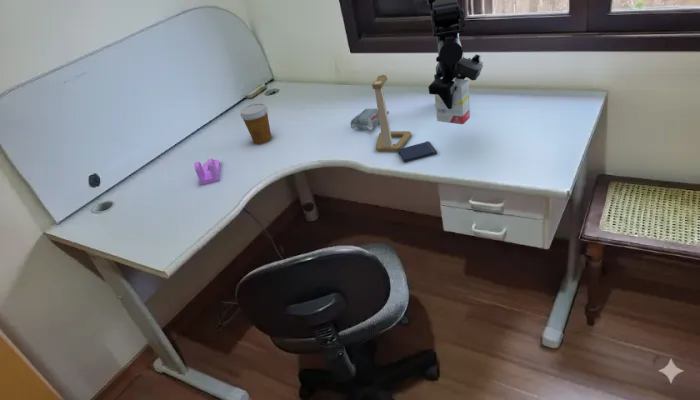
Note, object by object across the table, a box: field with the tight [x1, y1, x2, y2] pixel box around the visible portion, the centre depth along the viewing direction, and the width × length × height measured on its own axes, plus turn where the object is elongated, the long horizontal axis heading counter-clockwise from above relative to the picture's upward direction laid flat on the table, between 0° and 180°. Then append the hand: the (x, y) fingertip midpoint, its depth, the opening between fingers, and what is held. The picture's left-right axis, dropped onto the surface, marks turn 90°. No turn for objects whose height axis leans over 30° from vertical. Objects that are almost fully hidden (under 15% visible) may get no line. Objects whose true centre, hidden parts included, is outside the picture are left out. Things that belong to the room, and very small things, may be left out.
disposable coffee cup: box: [239, 102, 272, 145], centre depth 179 cm, size 10×10×12 cm
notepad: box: [397, 140, 438, 163], centre depth 154 cm, size 10×7×1 cm
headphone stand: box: [371, 74, 412, 153], centre depth 156 cm, size 10×11×22 cm
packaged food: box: [350, 107, 390, 131], centre depth 174 cm, size 9×12×5 cm
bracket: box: [193, 158, 221, 186], centre depth 166 cm, size 13×6×7 cm, turn 9°
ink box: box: [434, 77, 471, 125], centre depth 147 cm, size 9×5×12 cm, turn 53°
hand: (453, 104), depth 147 cm, fingers closed on ink box, 5 cm apart
